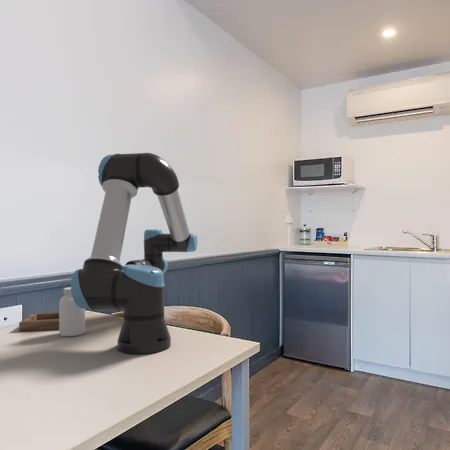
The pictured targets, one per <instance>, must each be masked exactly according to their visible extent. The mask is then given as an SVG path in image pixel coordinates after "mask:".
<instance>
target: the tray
mask: <svg viewBox="0 0 450 450" xmlns="http://www.w3.org/2000/svg"><path fill="white" fill-rule="evenodd" d="M18 324H19V325H18V326H19V328H18V331H19V332H20V333H21V332H38V331H40V332H41V331H59V311H57V312H52V311H51V312H37V313H36V312H34V313H32V314H30V315H29V316H27V317H25V318H23V320H21V321H19V322H18Z"/></svg>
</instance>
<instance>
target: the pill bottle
mask: <svg viewBox="0 0 450 450" xmlns="http://www.w3.org/2000/svg"><path fill="white" fill-rule="evenodd" d="M58 310H59V311H58V312H59V330H58V331H59V332H58V333H59V335H60V336H61V337H75V336H81V335H83V334H85V333H86V332H85V331H86V309H82V308H80V307H78V306H77V305H76V304H75V302H74V300H73V297H72V294H71V286H69V287H64V288H63V296H62V297H61V298H60V299H59V307H58Z"/></svg>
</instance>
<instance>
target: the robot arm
mask: <svg viewBox="0 0 450 450" xmlns="http://www.w3.org/2000/svg"><path fill="white" fill-rule="evenodd" d="M98 165H99V166H98V168H97V169H98V170H97V174H98V176H97V177H98V178H97V179H98V183H99V184H100V187H101V188H102V190H103V192H104V197H103V202H102V206H101V210H100V215H99V220H98V224H97V228H96V233H95V238H94V240H93V241H94V242H93V244H92V249H91V253H90V254H91V255H90V257H88V258H87V259H85V260H84V262H83V266H82V268H79V269H76V270H75V271H74V272H73V273H72V276H71V279H70V287H71V294H72V297H73V300H74V302H75V304H76V305H77V306H78V307H80V308H82V309H85V310H91V311H96V310H106V311H107V310H108V311H109V310H110V311H111V310H112V311H113V310H114V311H115V310H116V311H117V310H118V311H123V313H122V314H123V322H122V324H121V328H120V331H119V335H118V338H117V350H118V351H119V352H122V353H125V354H130V355H131V354H133V355H144V354H152V353H157V352H162V351H165V350H167V349H169V348H170V346H171V345H172V343H171V342H172V338H171V334H170V332H169V328H168V325H167V322H166V319H165V285H166V284H165V279H164V274H166V272H167V271H168V269H169V268H168V267H169V263H168V262H167V259H166V258H165V257H164V256H163V253H191V252H195V251H196V250H197V249H198V236H197V234H196V233H190V229H189V226H188V223H187V218H186V215H185V212H184V208H183V204H182V200H181V197H180V194H179V187H180V183H179V182H180V181H179V179H178V176H177V174H176V172H175V170H174V169H173V168H172V167H171V165H170V164H169V163H168V162H167V160H165V159H163V157H161V156H159V155H157V154H154V153H151V152H142V153H141V152H140V153H139V152H138V153H137V152H136V153H135V152H134V153H114V154H107V155H106V156H104V157H102V159H101V161H100V163H99V164H98ZM139 188H150V189H152V192H153V194H154V195H156V196H157V198H158V202H159V205H160V208H161V210H162V213H163V216H164V219H165V221H166V225H167V228H168V231H169V233H164V232H163V230H162V229H159V228H158V229H157V228H155V229H154V228H153V229H152V228H151V229H145V230H144V233H143V234H144V235H143V254H144V255H143V258H140V259H136V260H129V261H127V262H125V265H123V264H122V263H121V262H120V261H121V256H122V250H123V244H124V240H125V233H126V229H127V224H128V223H127V222H128V219H129V213H130V209H131V208H130V207H131V203H132V199H133V198H135V197H136V196H137V194H138V192H139V191H138V190H139Z"/></svg>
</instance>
